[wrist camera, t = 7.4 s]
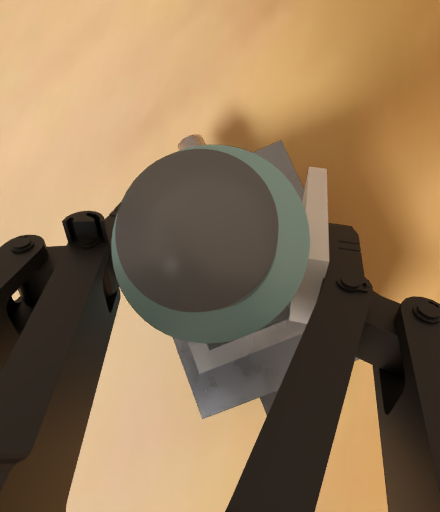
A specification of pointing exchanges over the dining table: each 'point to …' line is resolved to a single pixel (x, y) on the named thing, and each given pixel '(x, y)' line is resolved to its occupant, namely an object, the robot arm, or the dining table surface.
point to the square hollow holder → (244, 338)
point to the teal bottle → (210, 243)
